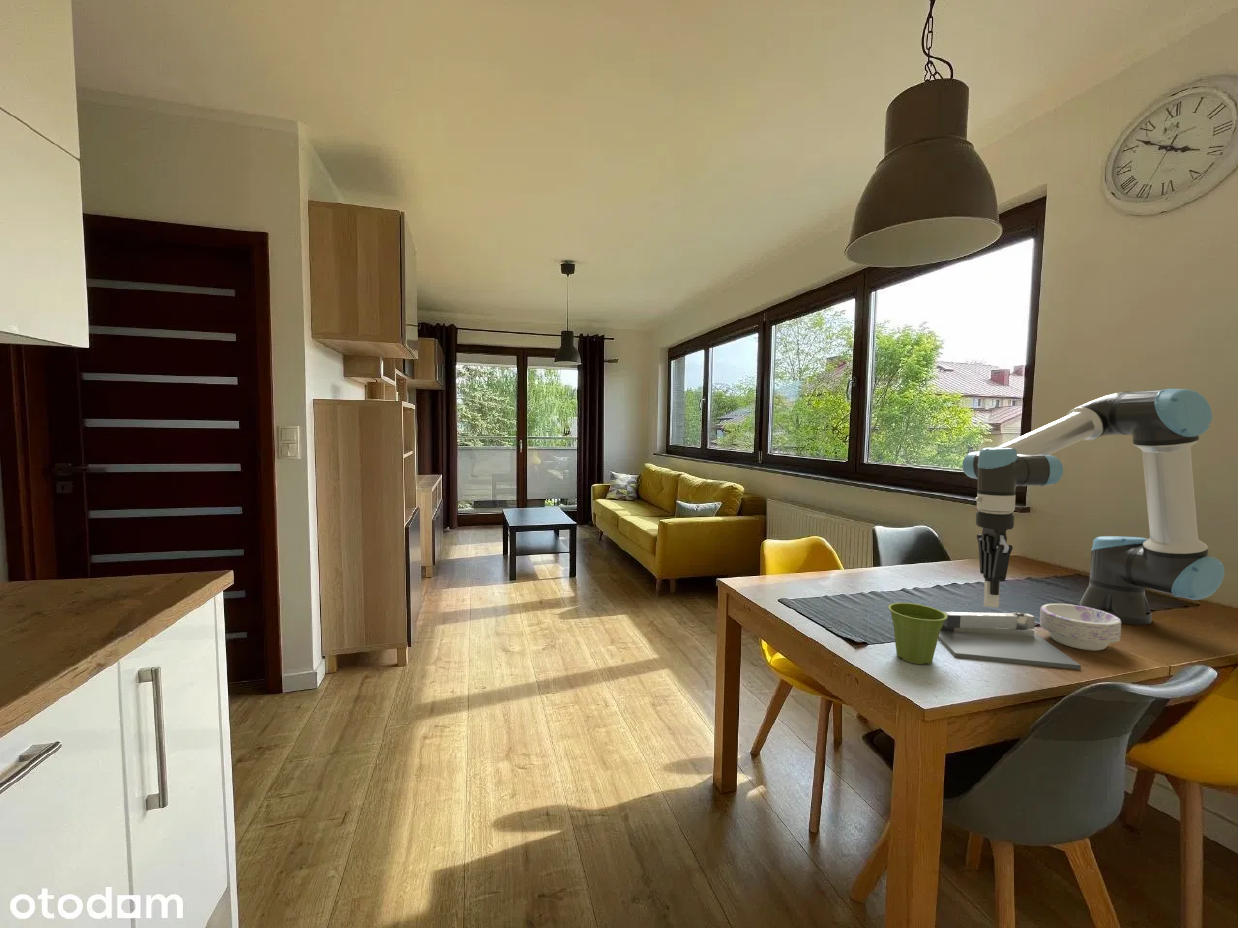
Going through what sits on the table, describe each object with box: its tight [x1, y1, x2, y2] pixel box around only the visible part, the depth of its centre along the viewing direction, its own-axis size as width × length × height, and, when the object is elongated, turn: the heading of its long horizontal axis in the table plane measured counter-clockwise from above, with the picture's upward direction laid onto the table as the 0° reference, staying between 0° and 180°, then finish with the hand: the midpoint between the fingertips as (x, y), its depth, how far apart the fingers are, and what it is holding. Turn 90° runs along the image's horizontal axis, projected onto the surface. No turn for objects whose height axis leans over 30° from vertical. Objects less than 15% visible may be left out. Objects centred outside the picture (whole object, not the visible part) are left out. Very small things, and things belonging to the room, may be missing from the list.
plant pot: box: [887, 602, 947, 665], centre depth 121 cm, size 12×12×11 cm
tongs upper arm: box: [941, 610, 1036, 630], centre depth 134 cm, size 22×4×4 cm, turn 89°
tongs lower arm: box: [940, 626, 1035, 637], centre depth 135 cm, size 22×3×2 cm, turn 81°
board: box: [938, 631, 1082, 670], centre depth 130 cm, size 25×21×1 cm
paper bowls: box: [1039, 603, 1122, 651], centre depth 131 cm, size 15×15×8 cm
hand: (991, 605), depth 129 cm, fingers closed
